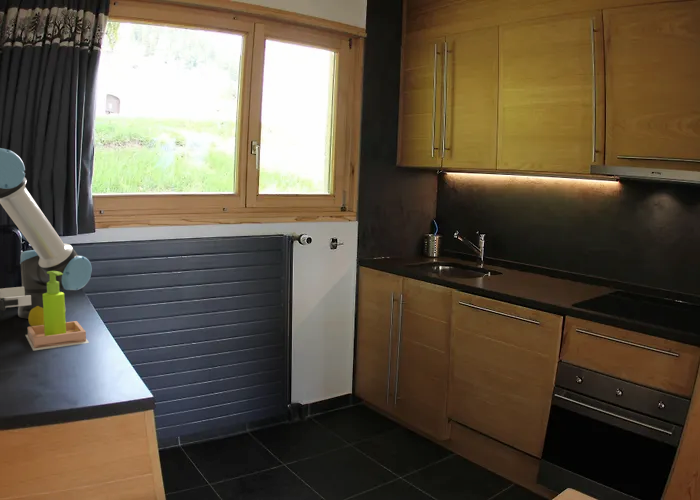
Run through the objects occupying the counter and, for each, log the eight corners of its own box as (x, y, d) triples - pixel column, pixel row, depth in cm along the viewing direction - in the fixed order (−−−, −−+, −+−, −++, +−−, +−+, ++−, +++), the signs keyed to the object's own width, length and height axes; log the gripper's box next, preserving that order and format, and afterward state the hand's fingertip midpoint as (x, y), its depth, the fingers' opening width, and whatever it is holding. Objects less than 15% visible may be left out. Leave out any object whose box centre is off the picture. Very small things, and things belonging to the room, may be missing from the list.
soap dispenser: (54, 340, 184) (51, 274, 181) (40, 336, 188) (37, 271, 185) (72, 336, 189) (69, 271, 186) (58, 332, 193) (55, 268, 190)
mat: (25, 336, 192) (25, 335, 192) (77, 330, 201) (77, 328, 201) (33, 352, 178) (33, 350, 178) (89, 344, 186) (89, 342, 186)
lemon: (40, 333, 197) (39, 308, 195) (25, 332, 198) (23, 307, 196) (52, 328, 202) (50, 304, 201) (37, 327, 203) (35, 303, 202)
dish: (28, 336, 191) (27, 326, 190) (77, 330, 199) (76, 320, 198) (34, 348, 179) (33, 338, 179) (86, 341, 187) (85, 331, 187)
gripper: (-60, 307, 182) (22, 299, 194) (-57, 327, 161) (34, 317, 173) (-61, 282, 181) (21, 275, 192) (-59, 299, 160) (33, 290, 172)
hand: (27, 295), depth 183 cm, fingers open, 13 cm apart
